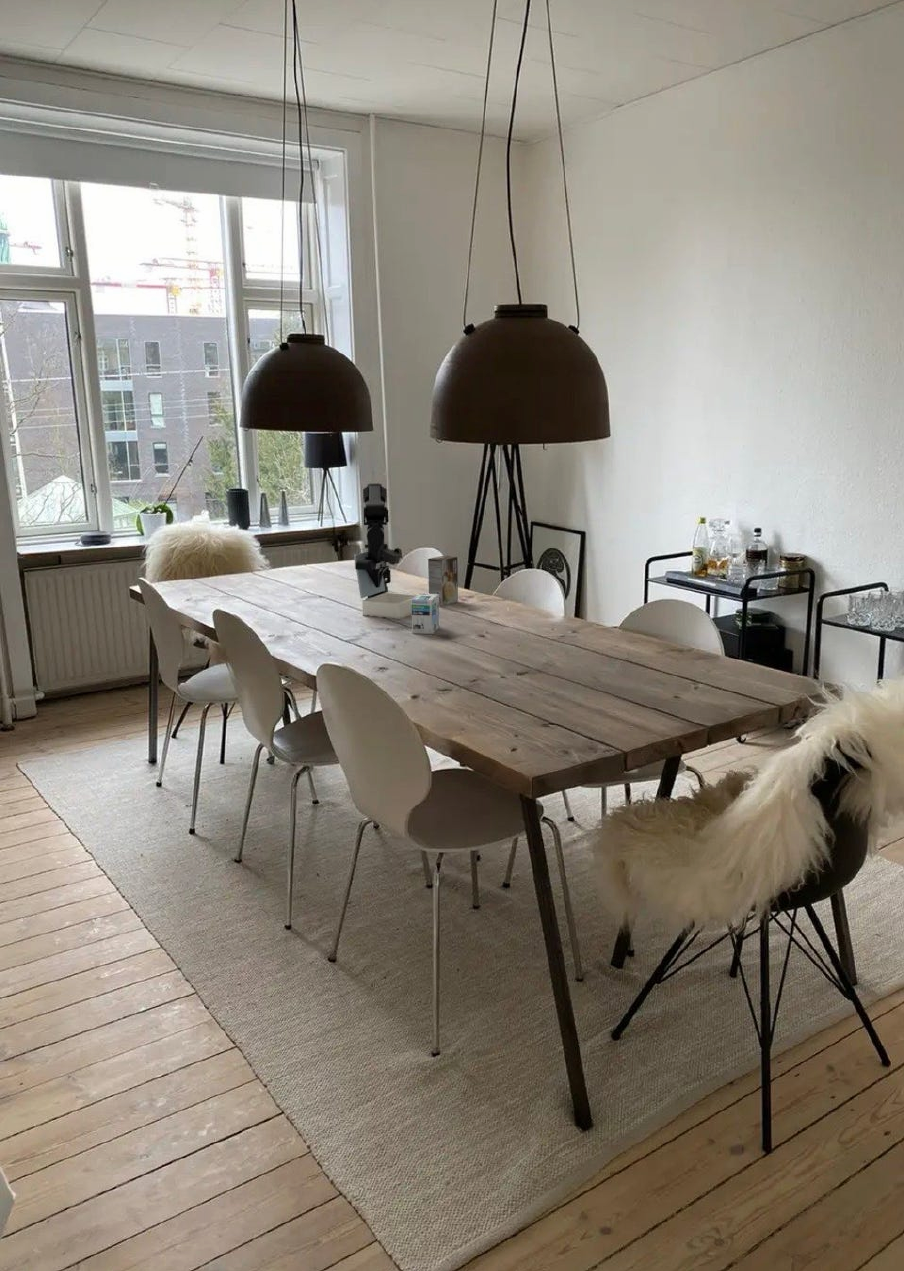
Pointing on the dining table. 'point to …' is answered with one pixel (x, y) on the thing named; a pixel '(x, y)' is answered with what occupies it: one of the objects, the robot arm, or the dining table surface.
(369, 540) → the robot arm
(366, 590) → the lid flap
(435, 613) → the light bulb box
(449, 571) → the coffee box
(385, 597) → the open box
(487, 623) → the dining table surface
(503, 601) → the dining table surface
